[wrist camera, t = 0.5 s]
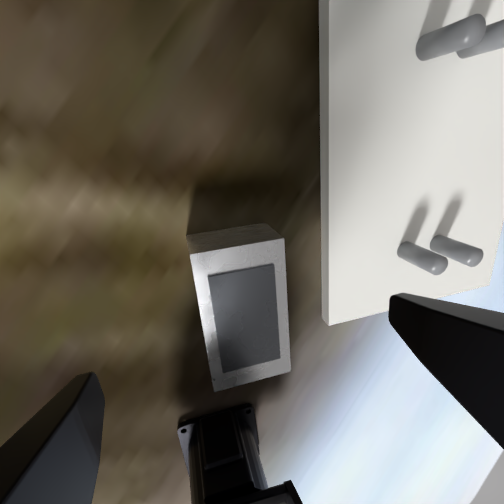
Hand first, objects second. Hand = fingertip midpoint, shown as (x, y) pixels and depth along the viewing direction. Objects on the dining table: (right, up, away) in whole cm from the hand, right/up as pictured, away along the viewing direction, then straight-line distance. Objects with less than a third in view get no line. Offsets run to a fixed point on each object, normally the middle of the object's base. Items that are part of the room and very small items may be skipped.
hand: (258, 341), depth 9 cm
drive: (-2, 0, +14) cm, 14 cm away
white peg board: (+12, +10, +13) cm, 21 cm away
